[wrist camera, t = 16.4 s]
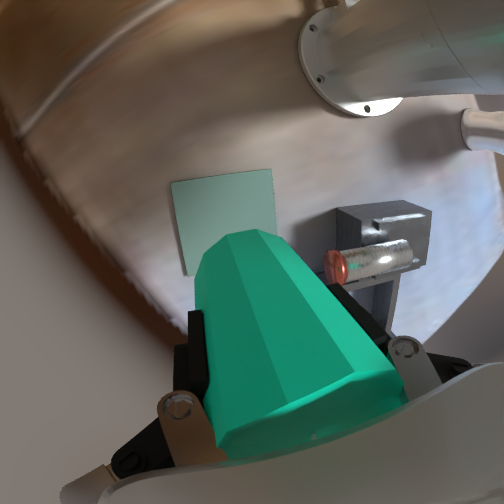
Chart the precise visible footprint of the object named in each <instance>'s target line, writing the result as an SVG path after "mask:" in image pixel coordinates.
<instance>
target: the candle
mask: <svg viewBox="0 0 504 504" xmlns="http://www.w3.org/2000/svg"><path fill="white" fill-rule="evenodd" d="M194 282H195V310H200V309H201V310H202V313H203V315H204V326H205V337H206V348H207V358H208V367H209V381H208V384H209V387H208V389H207V391H206V394H205V396H204V398H203V405H204V412H205V414H206V416H207V418H208V420H209V423H210V425H211V427H212V429H213V430H214V432H215V438H216V445H217V448H218V447H222V448H223V450H224V451H225V453H226V455H227V457H228V459H229V460H232V459H238V458H244V457H249V456H254V455H259V454H264V453H268V452H272V451H277V450H281V449H285V448H289V447H292V446H296V445H300V444H303V443H307V442H310V441H313V440H316V439H320V438H323V437H326V436H329V435H332V434H335V433H338V432H340V431H343V430H346V429H349V428H351V427H354V426H356V425H359V424H362V423H364V422H366V421H369V420H371V419H374V418H376V417H378V416H381V415H383V414H385V413H387V412H390V411H392V410H394V409H396V408H398V407H400V406H402V404H401V402H400V399H399V396H400V393H401V390H402V387H403V385H405V383H404V382H403V380H402V378H401V377H400V375H399V374H398V372H397V370H396V369H395V368H394V366H393V365H392V364H391V363H390V362H389V360H388V359H387V358H386V357H385V355H384V354H383V353H382V352H381V351H380V349H379V348H378V347H377V346H376V345H375V343H374V342H373V341H372V340H371V339H370V337H369V336H368V335H367V334H366V333H365V331H364V330H363V329H362V328H361V327H360V326H359V324H358V323H357V322H356V321H355V320H354V319H353V317H352V316H351V315H350V314H349V313H348V312H347V310H346V309H345V308H344V307H343V306H342V305H341V303H340V302H339V301H338V300H337V299H336V298H335V296H334V295H333V294H332V293H331V292H330V291H329V290H328V288H327V287H326V286H325V285H324V284H323V283H322V282H321V280H320V279H319V278H318V277H317V276H316V275H315V274H314V273H313V271H312V270H311V269H310V268H309V267H308V266H307V265H306V264H305V262H304V261H303V260H302V259H301V258H300V257H299V256H298V255H297V254H296V252H295V251H294V250H293V249H292V248H291V247H290V246H289V245H288V244H287V242H286V241H285V240H284V239H283V238H282V237H279V236H276V235H273V234H270V233H267V232H264V231H261V230H258V229H251V230H246V231H241V232H235V233H230V234H226V235H225V236H224V237H222V238H221V239H220V240H219V241H218V242H216V243H215V244H214V245H213V246H212V247H210V248H209V249H208V250H207V251H206V252H204V253H203V256H202V259H201V262H200V264H199V267H198V270H197V273H196V276H195V279H194Z"/></svg>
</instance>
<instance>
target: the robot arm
mask: <svg viewBox="0 0 504 504" xmlns="http://www.w3.org/2000/svg"><path fill="white" fill-rule="evenodd" d="M311 30H312V31H311ZM298 53H299V60H300V63H301V66H302V69H303V72H304V73H305V75H306V77H307V79H308V81H309V83H310V84H311V85H312V87H313V88H314V89H315V91H316V92H317V93H318V94H319V95H320V96H321V97H322V98H323V99H324V100H325V101H326V102H328V103H329V104H331V105H332V106H333V107H335V108H336V109H338V110H340V111H342V112H344V113H347V114H350V115H353V116H359V117H376V116H380V115H384V114H386V113H388V112H390V111H392V110H393V109H394V108H395V107H396V106H397V105H398V104H399V103H400V101H401V100H402V98H407V97H418V96H431V95H450V94H504V0H360V1H358V2H357V1H355V0H342V2H340V4H339V5H338V6H334V7H328V8H325V9H322V10H320V11H318V12H317V13H315V14H314V15H312V16H311V17H310V18H309V19H308V20H307V21H306V23H305V24H304V26H303V28H302V29H301V32H300V35H299V39H298ZM316 78H317V79H318V80H319V82H318V81H317V79H316ZM325 286H326V287H327V288H328V290H329V291H330V292H331V293H332V294H333V295H334V296H335V298H336V299H337V300H338V301H339V302H340V303H341V305H342V306H343V307H344V308H345V309H346V310H347V312H348V313H349V314H350V315H351V316H352V317H353V319H354V320H355V321H356V322H357V323H358V324H359V326H360V327H361V328H362V329H363V330H364V331H365V333H366V334H367V335H368V336H369V337H370V339H371V340H372V341H373V342H374V343H375V345H376V346H377V347H378V348H379V349H380V351H381V352H382V353H383V354H384V355H385V357H386V358H387V359H388V360H389V362H390V363H391V364H392V365H393V366H394V368H395V369H396V370H397V372H398V374H399V375H400V377H401V378H402V380H403V382H404V383H405V385H403V387H402V390H401V393H400V396H399V399H400V402H401V404H402V406H400V407H398V408H396V409H394V410H392V411H390V412H387V413H385V414H383V415H381V416H378V417H376V418H374V419H371V420H369V421H366V422H364V423H362V424H359V425H356V426H354V427H351V428H349V429H346V430H343V431H340V432H338V433H335V434H332V435H329V436H326V437H323V438H320V439H316V440H313V441H310V442H307V443H303V444H300V445H296V446H292V447H289V448H285V449H281V450H277V451H272V452H268V453H264V454H259V455H254V456H249V457H244V458H238V459H232V460H229V459H228V457H227V455H226V453H225V451H224V450H223V448H222V447H218V448H217V445H216V438H215V432H214V430H213V429H212V427H211V425H210V423H209V420H208V418H207V416H206V414H205V412H204V405H203V398H204V396H205V394H206V391H207V389H208V387H209V384H208V381H209V367H208V358H207V348H206V337H205V326H204V315H203V313H202V310H201V309H200V310H194V311H188V343H185V344H179V345H175V347H174V372H173V373H174V374H173V392H170V393H168V394H166V395H165V396H164V397H162V398H161V400H160V401H159V402H158V405H157V413H158V418H156V419H155V420H154V421H153V422H152V423H151V424H149V425H148V426H147V427H146V428H144V429H143V430H142V431H141V432H140V433H139V434H137V435H136V436H135V437H134V438H132V439H131V440H130V441H129V442H128V443H126V444H125V445H124V446H122V447H121V448H120V449H119V450H118V451H117V452H116V453H115V454H114V455H113V457H112V459H111V463H110V464H109V465H107V466H105V465H104V464H103V465H101V466H99V467H98V468H96V469H94V470H92V471H91V472H89V473H87V474H85V475H84V476H82V477H80V478H78V479H76V480H74V481H72V482H70V483H68V484H67V485H65V486H64V487H63V488H62V490H61V492H60V501H61V504H504V363H501V362H498V363H490V364H477V363H474V364H473V365H472V366H471V364H470V363H469V362H468V361H466V360H464V359H460V358H455V357H449V356H443V355H437V354H432V353H427V352H425V350H424V348H423V346H422V344H421V343H420V342H419V341H418V340H417V339H415V338H413V337H410V336H397V337H394V338H393V339H392V338H391V337H390V336H389V335H388V333H387V332H386V331H385V330H384V329H383V328H382V327H381V326H380V325H379V324H378V323H377V322H376V321H375V320H374V318H373V317H372V316H371V315H370V314H369V313H368V312H367V311H366V310H365V309H364V308H363V307H361V306H360V305H359V304H358V303H357V302H356V301H355V300H354V298H353V297H352V296H351V295H350V294H349V293H348V292H347V291H346V290H345V289H344V288H343V287H342V286H341V285H340V284H339V283H333V284H329V285H325Z"/></svg>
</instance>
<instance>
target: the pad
mask: <svg viewBox="0 0 504 504" xmlns="http://www.w3.org/2000/svg"><path fill="white" fill-rule="evenodd" d="M170 184H171V190H172V196H173V202H174V208H175V214H176V219H177V225H178V230H179V235H180V240H181V245H182V250H183V255H184V260H185V265H186V270H187V274H188V276H194V275H196V273H197V270H198V267H199V264H200V262H201V259H202V256H203V253H204V252H206V251H207V250H208V249H209V248H210V247H212V246H213V245H214V244H215V243H216V242H218V241H219V240H220V239H221V238H222V237H224V236H225V235H226V234H230V233H235V232H241V231H246V230H251V229H258V230H261V231H264V232H267V233H270V234H273V235H276V236H277V226H276V213H275V201H274V189H273V178H272V169H263V170H254V171H246V172H238V173H230V174H223V175H216V176H210V177H203V178H197V179H191V180H185V181H179V182H173V183H170Z"/></svg>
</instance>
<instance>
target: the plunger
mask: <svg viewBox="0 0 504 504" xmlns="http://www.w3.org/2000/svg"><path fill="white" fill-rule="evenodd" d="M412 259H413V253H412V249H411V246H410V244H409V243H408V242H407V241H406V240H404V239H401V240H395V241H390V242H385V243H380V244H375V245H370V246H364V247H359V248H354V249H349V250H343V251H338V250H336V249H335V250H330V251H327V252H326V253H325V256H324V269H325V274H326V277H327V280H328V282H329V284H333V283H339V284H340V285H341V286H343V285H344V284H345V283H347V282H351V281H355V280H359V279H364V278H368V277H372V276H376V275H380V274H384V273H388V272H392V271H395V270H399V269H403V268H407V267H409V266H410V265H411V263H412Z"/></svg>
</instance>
